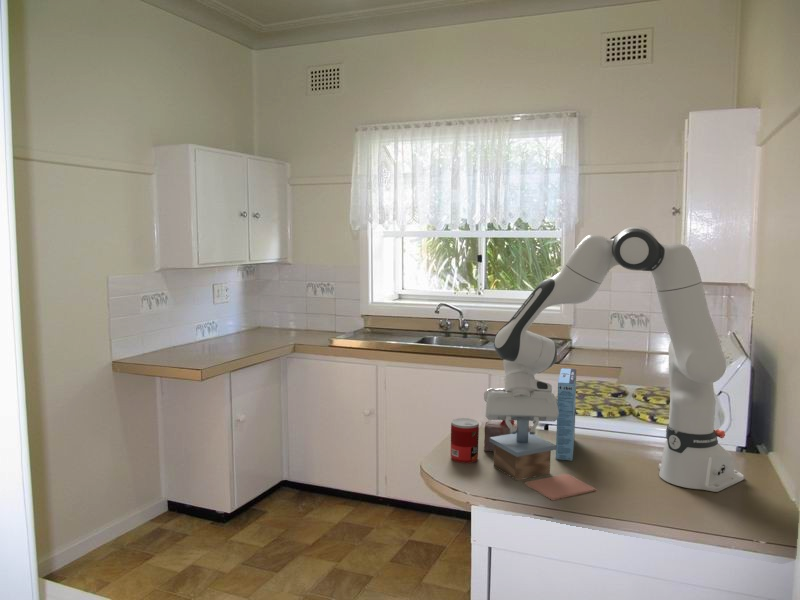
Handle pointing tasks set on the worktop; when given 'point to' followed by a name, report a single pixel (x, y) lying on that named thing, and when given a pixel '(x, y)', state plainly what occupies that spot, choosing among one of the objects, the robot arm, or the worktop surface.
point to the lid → (522, 441)
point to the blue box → (566, 414)
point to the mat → (560, 486)
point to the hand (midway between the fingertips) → (522, 433)
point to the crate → (522, 463)
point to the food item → (495, 432)
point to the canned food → (464, 440)
